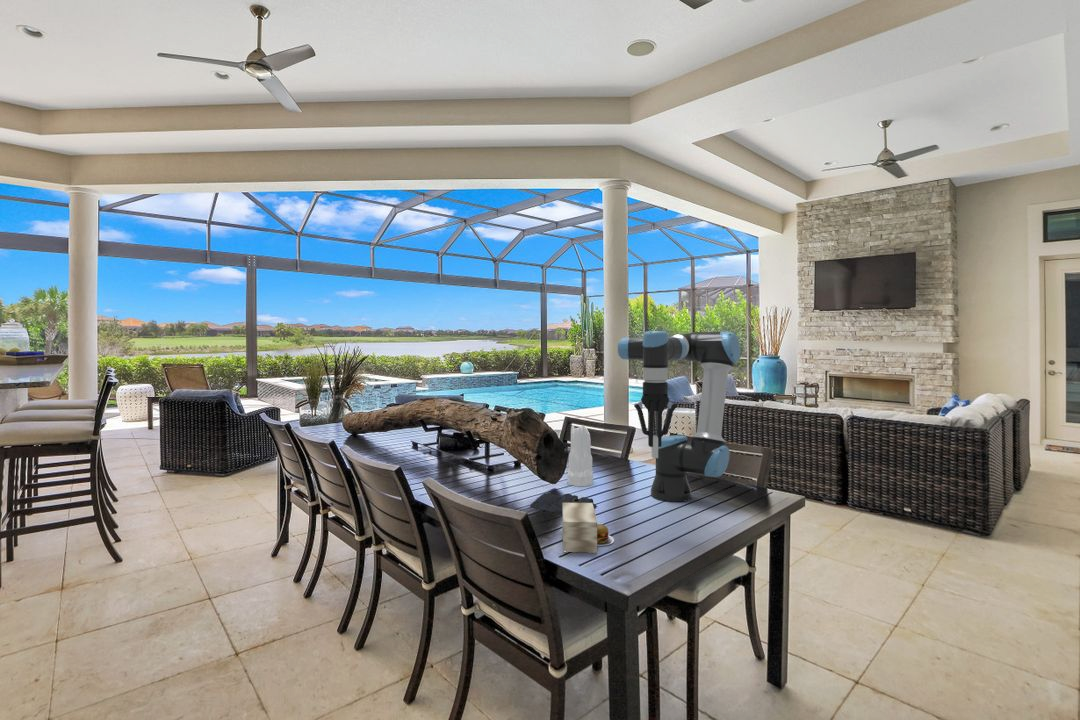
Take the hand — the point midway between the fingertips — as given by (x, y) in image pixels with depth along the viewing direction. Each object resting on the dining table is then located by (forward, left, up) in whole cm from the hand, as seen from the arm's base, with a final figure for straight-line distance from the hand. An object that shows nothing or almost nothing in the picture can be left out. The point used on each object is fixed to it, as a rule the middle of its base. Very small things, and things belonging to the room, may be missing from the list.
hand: (654, 457), depth 157 cm
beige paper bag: (+24, +7, -24) cm, 34 cm away
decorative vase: (+20, -55, -24) cm, 63 cm away
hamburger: (+18, +7, -25) cm, 31 cm away
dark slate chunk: (+28, -24, -25) cm, 44 cm away
